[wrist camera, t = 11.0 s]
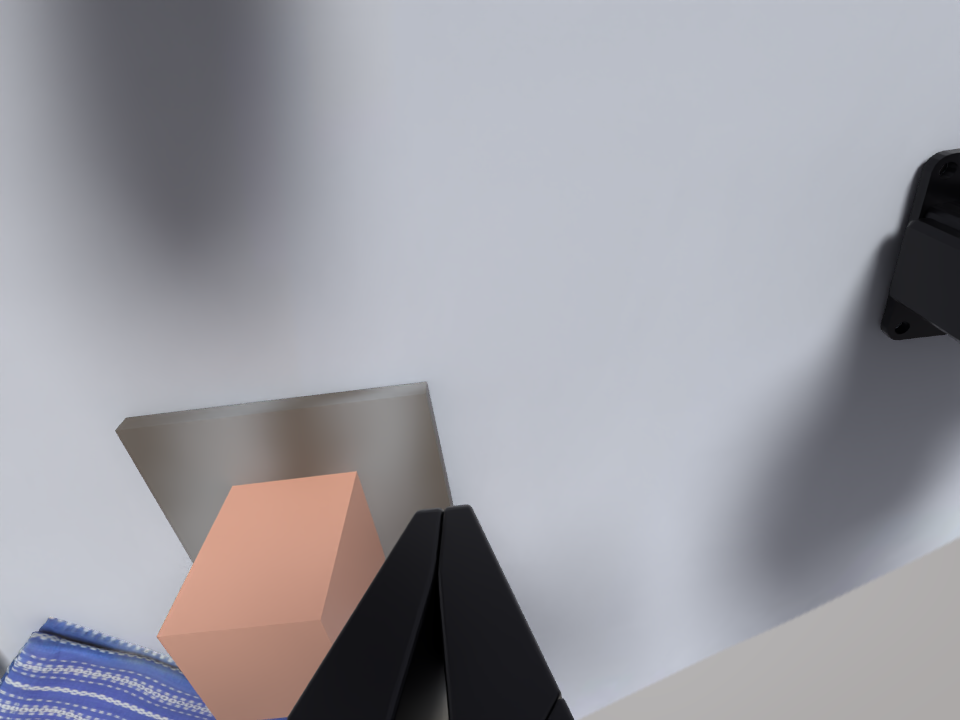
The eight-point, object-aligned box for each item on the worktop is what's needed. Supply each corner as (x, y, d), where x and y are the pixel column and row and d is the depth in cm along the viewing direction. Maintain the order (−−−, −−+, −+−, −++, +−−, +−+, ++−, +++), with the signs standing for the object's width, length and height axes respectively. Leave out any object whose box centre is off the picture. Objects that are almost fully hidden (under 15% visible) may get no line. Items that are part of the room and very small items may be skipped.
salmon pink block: (356, 471, 23) (320, 619, 17) (385, 557, 26) (362, 709, 20) (232, 485, 23) (156, 636, 18) (273, 569, 26) (219, 723, 20)
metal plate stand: (426, 381, 22) (413, 501, 16) (470, 583, 28) (470, 719, 22) (125, 417, 22) (16, 545, 17) (233, 607, 28) (178, 745, 23)
